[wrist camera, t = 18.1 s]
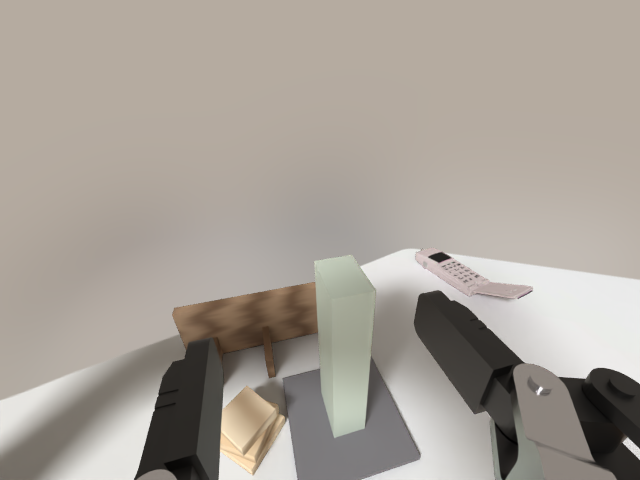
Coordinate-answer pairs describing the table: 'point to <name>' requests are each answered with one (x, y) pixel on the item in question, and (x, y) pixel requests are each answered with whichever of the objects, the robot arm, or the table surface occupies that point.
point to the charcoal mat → (350, 449)
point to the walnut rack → (251, 320)
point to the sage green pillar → (344, 340)
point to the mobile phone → (466, 276)
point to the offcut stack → (249, 429)
